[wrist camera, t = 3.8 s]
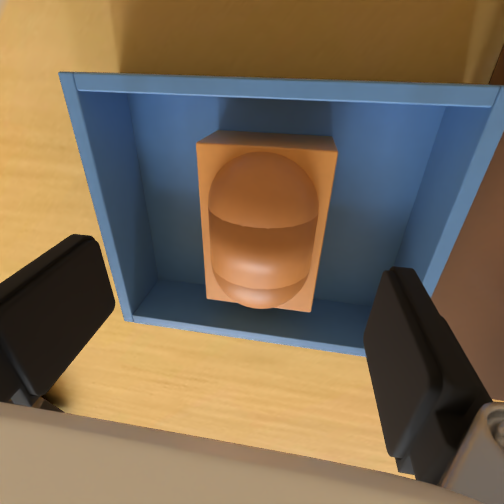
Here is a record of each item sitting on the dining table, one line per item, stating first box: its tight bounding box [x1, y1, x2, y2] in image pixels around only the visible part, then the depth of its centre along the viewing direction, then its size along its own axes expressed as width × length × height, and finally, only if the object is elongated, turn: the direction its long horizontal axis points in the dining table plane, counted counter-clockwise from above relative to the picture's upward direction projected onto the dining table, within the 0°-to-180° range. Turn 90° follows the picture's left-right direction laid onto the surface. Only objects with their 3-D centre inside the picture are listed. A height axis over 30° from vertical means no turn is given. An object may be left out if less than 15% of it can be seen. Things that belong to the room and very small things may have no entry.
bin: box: [58, 72, 504, 357], centre depth 14 cm, size 15×12×4 cm
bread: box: [196, 130, 338, 312], centre depth 14 cm, size 5×8×5 cm
